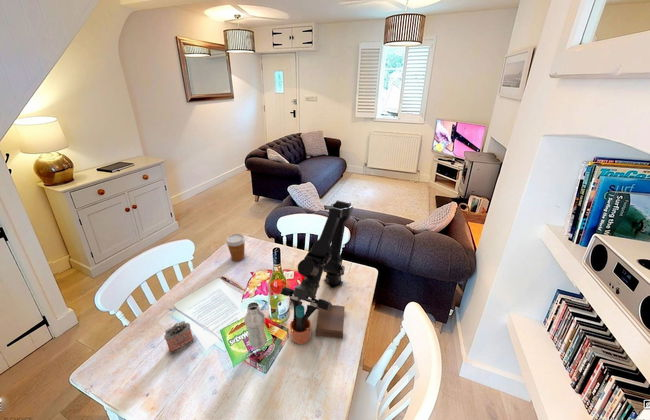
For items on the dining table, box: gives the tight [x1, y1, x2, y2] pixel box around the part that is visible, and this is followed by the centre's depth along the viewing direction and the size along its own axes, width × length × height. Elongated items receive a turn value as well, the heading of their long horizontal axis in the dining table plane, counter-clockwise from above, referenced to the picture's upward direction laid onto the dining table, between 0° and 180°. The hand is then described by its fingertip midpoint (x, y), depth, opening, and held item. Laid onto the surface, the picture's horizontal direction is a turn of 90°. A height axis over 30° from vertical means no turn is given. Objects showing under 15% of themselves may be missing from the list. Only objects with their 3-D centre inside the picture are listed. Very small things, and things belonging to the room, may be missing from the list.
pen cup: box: [289, 318, 312, 345], centre depth 98 cm, size 7×7×6 cm
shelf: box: [315, 304, 346, 340], centre depth 103 cm, size 12×10×4 cm
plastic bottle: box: [243, 301, 268, 349], centre depth 89 cm, size 6×7×20 cm
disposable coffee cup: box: [225, 233, 246, 262], centre depth 139 cm, size 10×10×12 cm
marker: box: [296, 304, 306, 332], centre depth 96 cm, size 3×3×13 cm
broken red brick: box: [163, 320, 195, 355], centre depth 92 cm, size 8×3×10 cm, turn 134°
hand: (298, 323), depth 95 cm, fingers closed on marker, 3 cm apart
